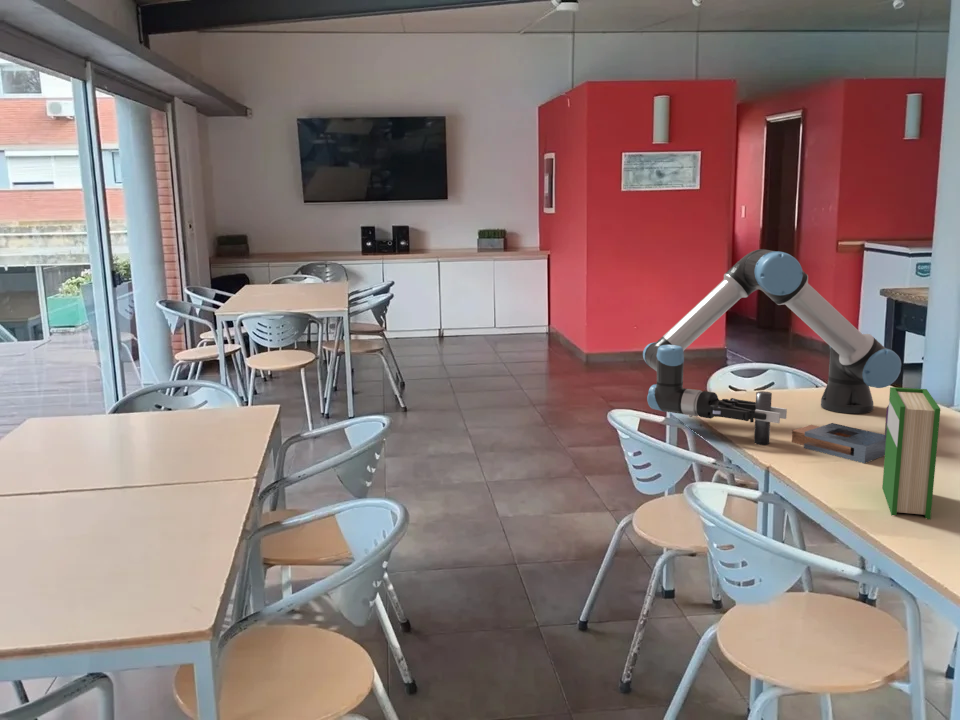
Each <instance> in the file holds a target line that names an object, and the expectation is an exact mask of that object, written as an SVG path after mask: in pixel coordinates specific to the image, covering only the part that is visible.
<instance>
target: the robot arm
mask: <svg viewBox="0 0 960 720" xmlns="http://www.w3.org/2000/svg"><path fill="white" fill-rule="evenodd" d="M758 290H760V291H761V292H763V293H764V294H765V296H767V297H768V298H770V299H771V301H773V302H774V303H775V304H776V305H778V306H781V305H785V306H786V307H787V308H788V309H789V310H791V312H793V314H795V315H796V316H797V317H798V318H799V319H801V321H802V322H803V323H804V324H806V325H807V326H808V327H809V328H810V329H811V330H812V331H813V332H814V333H815V334H816V335H817V336H818V337H820V338H821V339H822V340H823V342H825V343H826V344H827V345H828V346H829V362H828V363H829V364H828V380H827V384H826V387H825V389H824V391H823V393H822V396H821V399H820V407H821V408H823V409H824V410H828V411H831V412H835V413H842V414H843V413H844V414H866V413H871V412H872V411H874V399H873V396H872V393H871V392H872V391H871V389H870V388H876V389H883V388H887V387H889V386H890V385H892V384H894V383H895V382H896V380H897V379H898V377H899V376H900V374H901V370H902V360H901V358H900V356H899V354H897V353H896V352H895V351H894V350H892V349H890V348H886V347H885V346H884V345H882V343H881V342H880V341H878V340H877V339H876V338H875V337H874V336H873V335H872V334H871V333H862V332H860V330H859V329H857V327H856V326H854V325H853V324H852V323H851V321H849V320H848V319H847V318H846V317H844V315H842V313H840V311H838V309H836V308H835V307H834V306H833V305H832V304H831V303H830V302H829V301H827V300H826V298H824V296H822V295H821V294H820V293H819V292H818V291H817V290H816V289H815V288H814V287H813V286H812V285H811V284H810V283H809V275H808V274H807V273H806V272H805V271H804V270H803V268H802V266H801V264H800V262H799V260H798V259H797V258H796V257H794V256H792V255H791V254H789V253H787V252H784V251H779V250H778V251H775V250H771V249H770V250H769V249H765V248H762V249H761V248H760V249H755V250H752V251H751V252H748V253H747V254H746V255H744V256H743V257H742V258H740V260H738V261H737V262H736V263H734V265H733V266H731V267H730V268H729V270H727V272H725V273H724V274H723V279H722V280H721V281H720V282H719V283H718V284H717V285H716V286H715V287H714V288H713V289H712V290H711V291H710V292H708V294H707V295H706V296H705V297H704V298H702V299H701V300H700V301H699V302H698V303H697V304H696V305H695V306H694V307H693V308H692V309H690V310H689V312H687V313H686V314H685V315H684V316H683V317H682V318H681V319H679V321H678V322H676V323H675V325H673V326H672V327H671V328H670V329H669V330H668V331H667V332H666V333H665V334H664V335H662V337H660V338H659V339H658V340H657V341H656V342H655V341H654V342H651V343H648V344H647V345H646V346H645V347H644V348H643V351H642V357H643V360H644V362H645V363H646V365H647V366H648V367H650V368H651V369H653V370H654V371H655V372H656V382H655V383H656V384H655V383H654V384H652V385H651V386H650V387H649V389H648V394H647V396H646V397H647V398H646V400H647V405H648V407H650V408H651V409H652V410H656V411H660V412H664V413H672V414H680V415H688V417H689V418H692V417H700V418H703V419H704V418H705V419H711V420H712V419H714V418H724V419H732V420H738V421H743V422H744V421H745V422H749V423H755V420H760V421H766V422H770V423H775V424H780V422H781V419H782V420H783V419H784V420H787V416H788V415H787V413H788V412H787V410H788V409H787V408H783V407H776V406H771V412H770V411H763V410H757V409H756V401H750V400H744V399H738V398H734V397H731V398H730V399H728V398H722V399H719V397H718V395H717V393H716V392H713V391H707V390H703V391H702V390H701V389H691V388H685V387H684V386H683V385H684V365H685V364H684V362H685V353H684V352H685V350H686V349H687V348H688V347H689V346H690V345H691V344H692V343H694V341H696V340H697V339H698V338H699V337H700V336H701V335H703V334H704V333H705V332H706V331H707V330H708V329H709V328H710V327H711V326H713V324H714V323H716V322H717V321H718V320H719V319H720V318H721V317H722V316H723V315H724V314H725V313H726V312H727V311H728V310H730V309H731V308H732V307H733V306H734V305H735V304H737V303H738V301H740V299H742V298H748V297H749V296H750V295H751V294H752V293H754V292H755V291H758ZM755 409H756V410H755Z"/></svg>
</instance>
